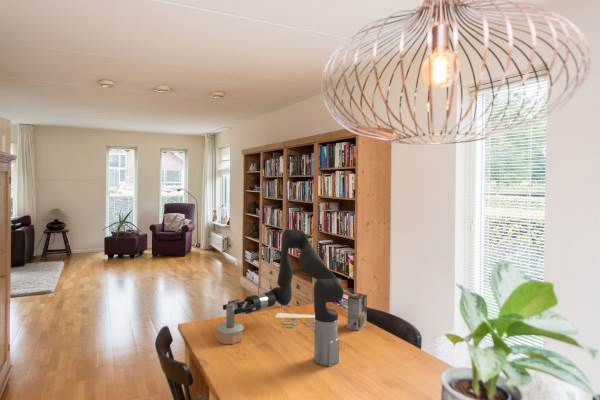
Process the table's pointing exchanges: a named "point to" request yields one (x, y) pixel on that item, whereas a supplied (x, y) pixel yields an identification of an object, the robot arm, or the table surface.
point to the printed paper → (295, 316)
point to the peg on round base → (230, 322)
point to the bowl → (229, 338)
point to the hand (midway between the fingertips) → (228, 309)
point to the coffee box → (357, 311)
